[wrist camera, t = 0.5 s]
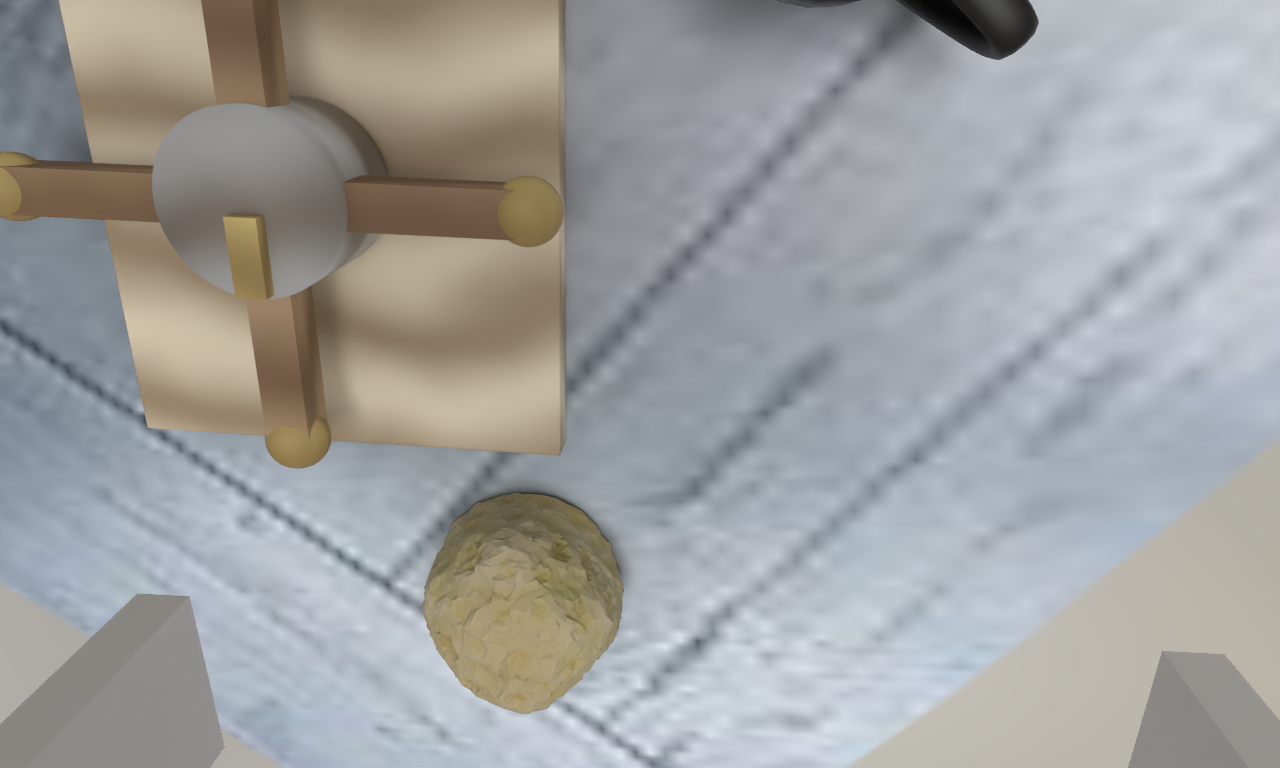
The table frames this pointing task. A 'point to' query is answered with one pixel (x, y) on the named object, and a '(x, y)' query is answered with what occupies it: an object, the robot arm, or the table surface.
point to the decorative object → (523, 599)
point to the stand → (395, 264)
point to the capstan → (275, 207)
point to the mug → (969, 21)
